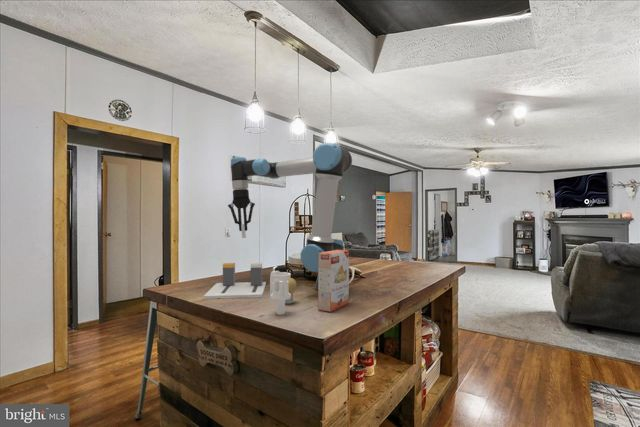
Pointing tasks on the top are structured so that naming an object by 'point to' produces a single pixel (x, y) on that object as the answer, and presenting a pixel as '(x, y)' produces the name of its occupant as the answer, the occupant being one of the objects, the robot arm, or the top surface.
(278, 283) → the white stepped cylinder
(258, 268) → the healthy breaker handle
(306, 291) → the top surface
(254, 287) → the plate
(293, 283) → the light bulb
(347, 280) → the cracker box
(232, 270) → the block
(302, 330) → the top surface
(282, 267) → the medicine bottle
